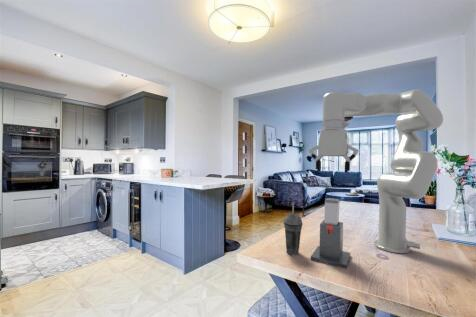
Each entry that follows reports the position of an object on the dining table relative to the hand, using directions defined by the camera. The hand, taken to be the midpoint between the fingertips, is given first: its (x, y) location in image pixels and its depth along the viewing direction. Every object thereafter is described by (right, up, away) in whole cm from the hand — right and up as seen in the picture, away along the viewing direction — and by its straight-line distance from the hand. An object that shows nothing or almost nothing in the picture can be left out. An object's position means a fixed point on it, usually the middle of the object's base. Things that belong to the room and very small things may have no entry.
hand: (332, 171), depth 87 cm
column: (0, -31, 0) cm, 31 cm away
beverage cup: (-14, -32, +4) cm, 35 cm away
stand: (0, -32, 0) cm, 32 cm away
